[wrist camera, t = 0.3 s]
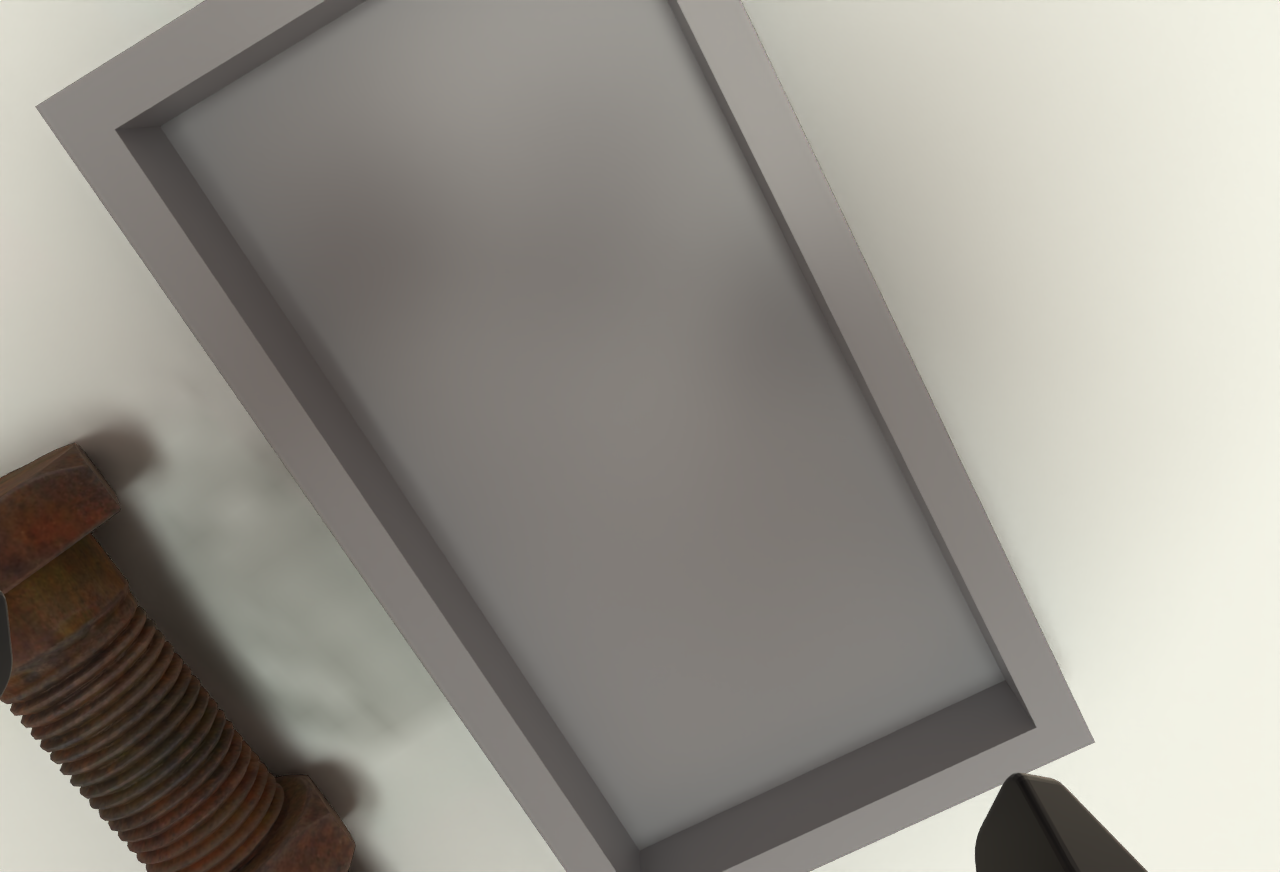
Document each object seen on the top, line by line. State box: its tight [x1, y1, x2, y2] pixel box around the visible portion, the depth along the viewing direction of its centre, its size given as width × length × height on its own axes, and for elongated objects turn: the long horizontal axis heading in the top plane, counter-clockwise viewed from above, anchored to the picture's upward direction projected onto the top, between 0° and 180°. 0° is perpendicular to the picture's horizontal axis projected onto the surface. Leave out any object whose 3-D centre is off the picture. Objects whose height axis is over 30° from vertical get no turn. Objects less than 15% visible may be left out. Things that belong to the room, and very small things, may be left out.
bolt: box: [0, 443, 355, 872], centre depth 24 cm, size 6×5×15 cm
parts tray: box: [35, 0, 1095, 872], centre depth 23 cm, size 12×22×2 cm, turn 29°
